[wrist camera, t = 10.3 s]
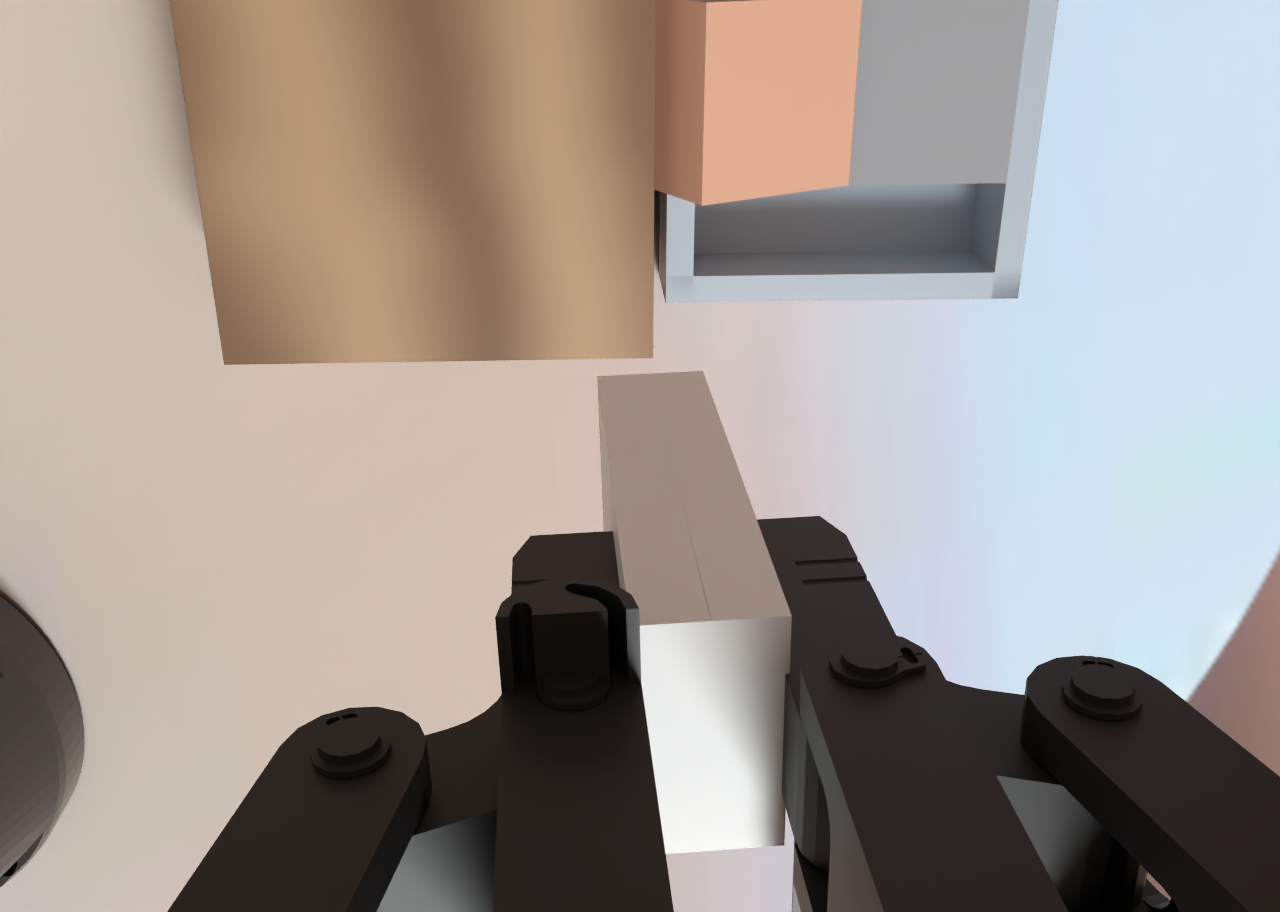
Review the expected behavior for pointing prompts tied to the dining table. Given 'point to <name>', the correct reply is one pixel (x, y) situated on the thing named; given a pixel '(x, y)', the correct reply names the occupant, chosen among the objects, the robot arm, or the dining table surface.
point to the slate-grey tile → (936, 91)
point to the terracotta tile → (753, 97)
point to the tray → (868, 227)
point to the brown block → (424, 176)
